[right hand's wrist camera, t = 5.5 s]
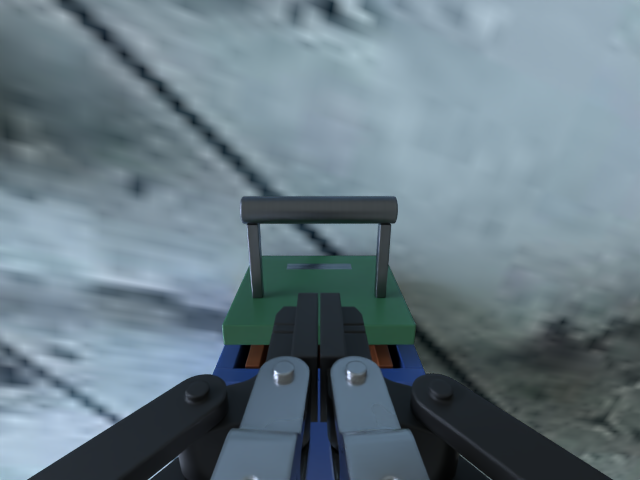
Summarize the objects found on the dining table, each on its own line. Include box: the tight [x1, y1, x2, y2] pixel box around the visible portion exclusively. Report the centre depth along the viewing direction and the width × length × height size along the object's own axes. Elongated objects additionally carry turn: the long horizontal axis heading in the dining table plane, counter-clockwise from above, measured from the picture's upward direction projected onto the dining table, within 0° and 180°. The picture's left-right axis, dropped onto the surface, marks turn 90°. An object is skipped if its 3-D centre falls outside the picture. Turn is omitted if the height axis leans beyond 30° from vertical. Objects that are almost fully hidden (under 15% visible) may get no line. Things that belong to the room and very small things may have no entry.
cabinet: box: [213, 344, 425, 480], centre depth 25 cm, size 17×11×11 cm, turn 0°
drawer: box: [222, 196, 416, 369], centre depth 23 cm, size 22×10×9 cm, turn 0°
